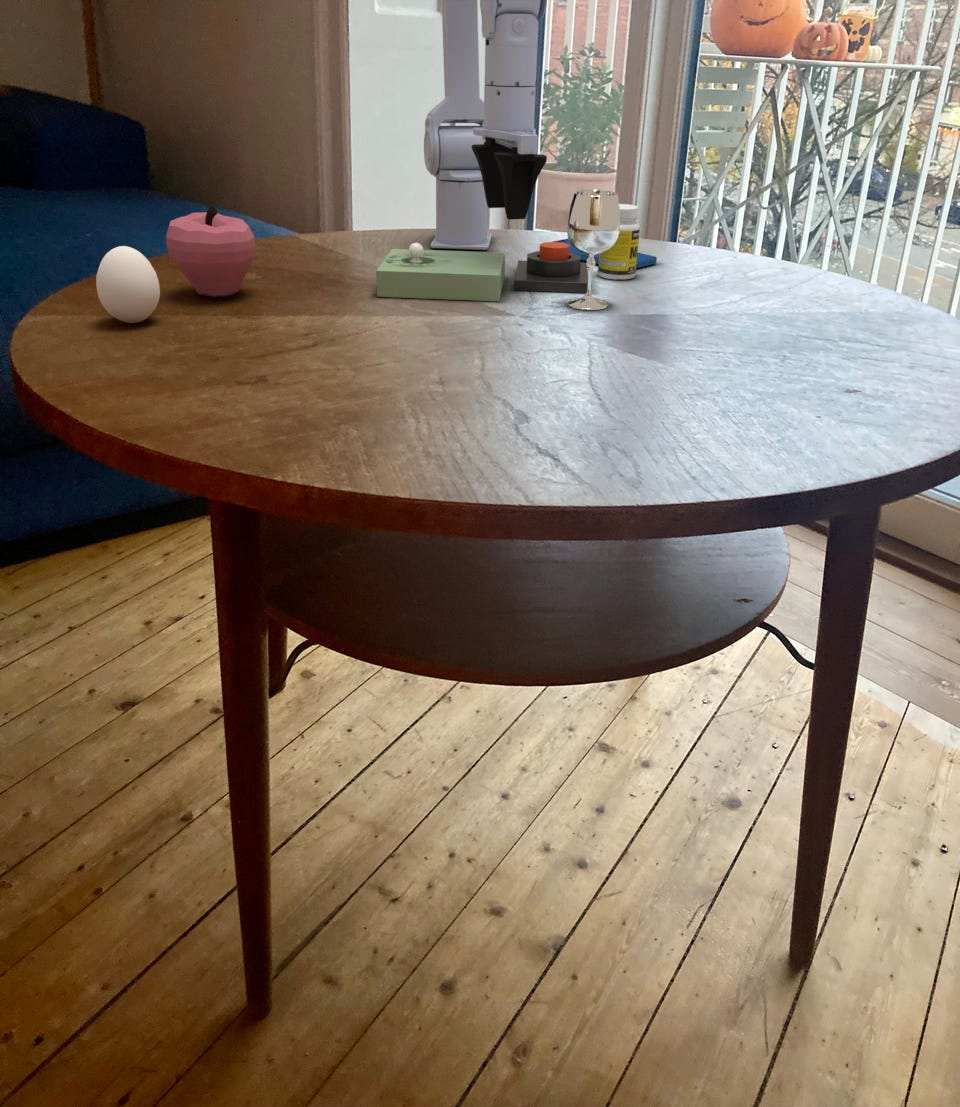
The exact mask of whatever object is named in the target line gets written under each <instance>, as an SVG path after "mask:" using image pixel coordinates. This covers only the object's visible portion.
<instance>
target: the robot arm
mask: <svg viewBox="0 0 960 1107" xmlns="http://www.w3.org/2000/svg"><path fill="white" fill-rule="evenodd" d="M478 4H479V6H478ZM547 4H548V0H479V3H478V0H441V22H442V24H441V25H442V53H443V54H442V55H443V84H444V87H443V88H444V98H443V99H442V100H441V101H440V102H439V103H438V104H436V105H435V106H434V107H433V108H431V110H430V111H429V112H428V113H427V115H426V118H425V120H424V137H423V158H424V164H425V168H426V170H427V171H428V173H429V174H430V175H431V176H433V177H435V235H434V238H433V239H432V241H431V243H430V248H431V249H449V250H451V249H452V250H475V251H476V250H477V251H481V250H482V251H487V250H489V248H490V244H491V242H492V239H493V234H492V233H488V214H489V213H488V212H489V209H502V208H503V209H504V212H505V216H506V219H507V220H526V218H527V216H528V211H529V208H530V204H531V200H532V195H533V192H534V189H535V185H536V183H537V181H538V178H539V176H540V174H541V171H542V170H543V169H544V166H545V165H546V164H547V159H548V156H547V155H545V154H542V153H541V154H538V147H539V146H538V145H539V141H538V140H539V135H538V134H536V133H537V132H536V128H535V114H536V112H535V109H536V88H537V86H536V85H537V65H538V43H539V22H541V21H542V20H543V19H544V16H545V13H546V10H547V6H548V5H547ZM478 7H479V8H480V15H481V37H482V38H485V41H484V45H485V46H484V47H485V48H484V86H483V87H484V89H483V91H484V92H483V98H484V99H481V97H480V96H481V95H480V52H479V51H480V50H479V48H480V47H479V8H478ZM442 124H475V125H442Z"/></svg>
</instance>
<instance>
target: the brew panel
mask: <svg viewBox="0 0 960 1107" xmlns="http://www.w3.org/2000/svg"><path fill="white" fill-rule="evenodd" d="M539 251H540V250H538V251H537V250H536V251H533V252H530V253H528V254H527V256H526V260H521V259H520V260H519V259H518V260H517V264H516V271H515V276H514V291H521V292H522V291H523V292H544V293H545V292H547V293H548V292H549V293H575V294H576V293H577V294H585V293H586V290H587V279H588V276H587V268H586V262H582V260H581V256H580V255H577V254H575V253H571V252H569V259H565V260H548V259H542V258H539Z"/></svg>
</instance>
